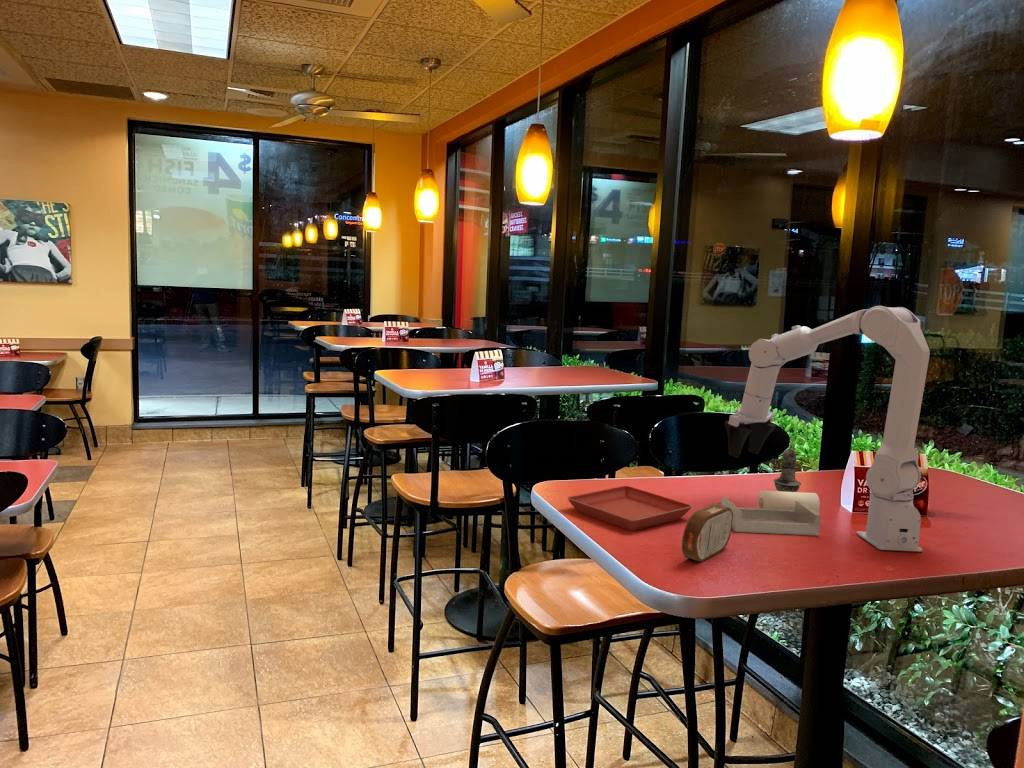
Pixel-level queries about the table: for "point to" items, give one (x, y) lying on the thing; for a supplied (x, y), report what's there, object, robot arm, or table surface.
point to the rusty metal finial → (788, 473)
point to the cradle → (775, 519)
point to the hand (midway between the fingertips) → (743, 454)
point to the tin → (707, 532)
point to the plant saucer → (629, 507)
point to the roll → (787, 500)
